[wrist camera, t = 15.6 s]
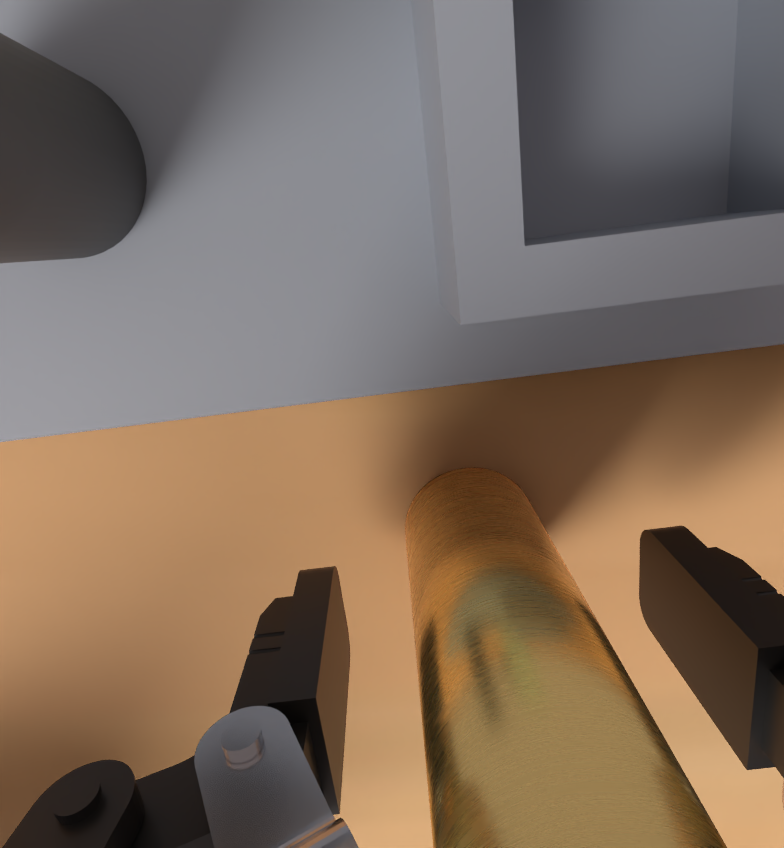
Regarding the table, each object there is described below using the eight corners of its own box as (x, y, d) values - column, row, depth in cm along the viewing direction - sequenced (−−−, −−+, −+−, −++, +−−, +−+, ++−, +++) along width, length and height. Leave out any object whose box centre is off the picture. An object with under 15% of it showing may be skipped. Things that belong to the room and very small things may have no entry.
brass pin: (536, 575, 15) (754, 1044, 6) (412, 589, 15) (458, 1075, 6) (530, 460, 14) (782, 828, 5) (397, 476, 14) (429, 867, 5)
